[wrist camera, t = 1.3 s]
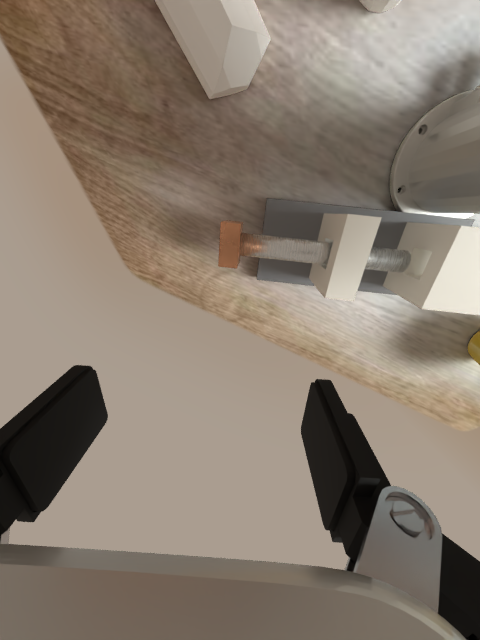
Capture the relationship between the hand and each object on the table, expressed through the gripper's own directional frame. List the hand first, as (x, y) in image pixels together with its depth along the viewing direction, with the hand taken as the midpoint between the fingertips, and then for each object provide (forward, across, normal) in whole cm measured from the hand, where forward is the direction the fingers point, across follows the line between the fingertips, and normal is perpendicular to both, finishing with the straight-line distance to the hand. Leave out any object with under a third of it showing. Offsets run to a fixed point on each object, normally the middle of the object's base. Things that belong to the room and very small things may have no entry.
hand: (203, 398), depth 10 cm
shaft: (+21, -9, -4) cm, 23 cm away
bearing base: (+24, -16, -4) cm, 29 cm away
